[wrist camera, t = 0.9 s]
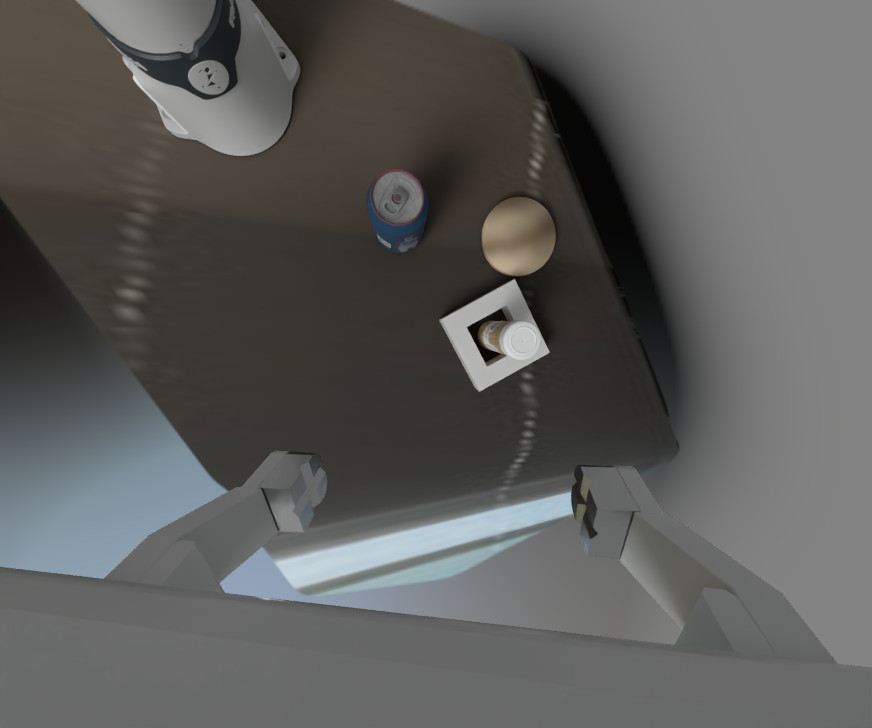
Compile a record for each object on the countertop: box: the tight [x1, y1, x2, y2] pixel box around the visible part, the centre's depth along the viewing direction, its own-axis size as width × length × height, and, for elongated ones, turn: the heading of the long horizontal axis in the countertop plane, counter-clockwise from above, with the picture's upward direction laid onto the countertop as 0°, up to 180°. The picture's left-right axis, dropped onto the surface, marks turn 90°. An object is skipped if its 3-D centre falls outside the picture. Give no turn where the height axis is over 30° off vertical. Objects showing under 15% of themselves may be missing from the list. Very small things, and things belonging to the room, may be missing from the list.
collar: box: [439, 279, 550, 391], centre depth 47 cm, size 12×12×3 cm
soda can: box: [367, 169, 429, 253], centre depth 39 cm, size 7×7×12 cm
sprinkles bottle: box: [478, 320, 542, 360], centre depth 42 cm, size 5×5×13 cm
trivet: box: [481, 197, 556, 277], centre depth 47 cm, size 11×11×1 cm
